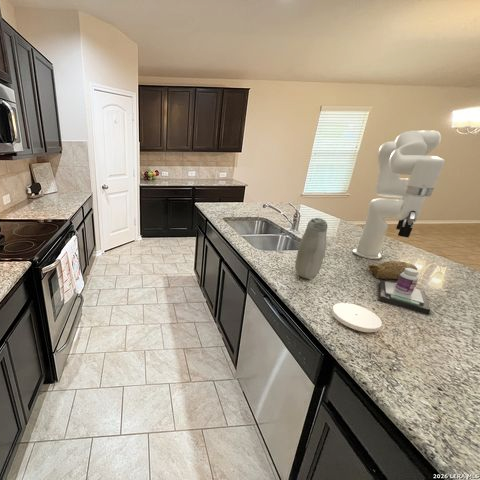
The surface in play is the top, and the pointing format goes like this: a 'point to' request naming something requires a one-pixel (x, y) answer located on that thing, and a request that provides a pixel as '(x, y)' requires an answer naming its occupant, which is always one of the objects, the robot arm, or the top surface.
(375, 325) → the plastic lid
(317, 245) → the gray vase
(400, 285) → the pill bottle
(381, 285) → the scale
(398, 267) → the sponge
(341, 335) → the top surface
